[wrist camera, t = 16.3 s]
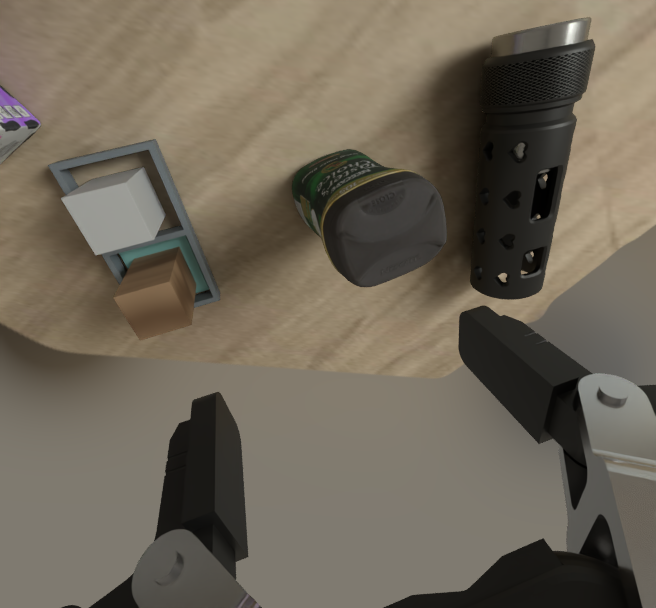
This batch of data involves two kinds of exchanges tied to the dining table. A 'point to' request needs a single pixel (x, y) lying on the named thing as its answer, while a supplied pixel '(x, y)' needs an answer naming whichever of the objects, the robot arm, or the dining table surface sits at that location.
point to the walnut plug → (157, 293)
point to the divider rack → (132, 216)
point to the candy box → (14, 124)
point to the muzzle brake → (525, 151)
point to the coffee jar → (370, 216)
